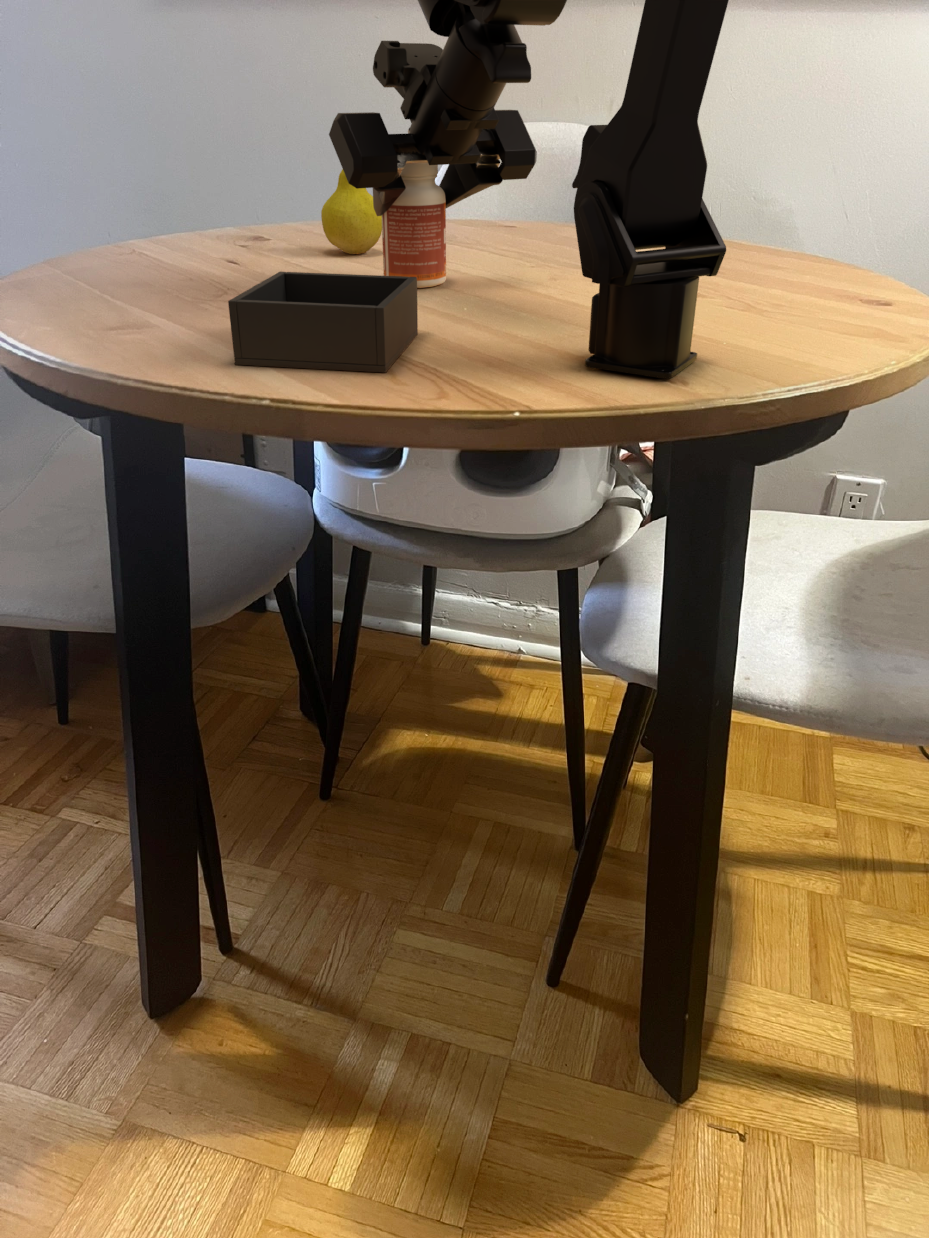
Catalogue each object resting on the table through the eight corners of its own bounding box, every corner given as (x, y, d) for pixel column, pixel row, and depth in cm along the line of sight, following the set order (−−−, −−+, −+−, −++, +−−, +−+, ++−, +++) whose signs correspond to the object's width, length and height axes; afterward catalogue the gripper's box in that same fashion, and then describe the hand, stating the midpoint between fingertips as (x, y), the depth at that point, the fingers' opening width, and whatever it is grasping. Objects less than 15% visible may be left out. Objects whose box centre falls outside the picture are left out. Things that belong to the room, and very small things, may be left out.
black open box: (417, 335, 80) (417, 277, 77) (385, 373, 70) (383, 307, 68) (284, 328, 81) (279, 271, 79) (234, 364, 72) (227, 300, 69)
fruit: (315, 250, 114) (308, 134, 108) (370, 246, 117) (366, 133, 111) (336, 260, 109) (329, 139, 103) (393, 255, 111) (390, 137, 105)
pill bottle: (458, 285, 97) (458, 161, 92) (404, 291, 94) (401, 164, 89) (425, 275, 102) (423, 156, 96) (372, 281, 99) (368, 158, 93)
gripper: (524, 8, 88) (460, 138, 101) (331, 1, 79) (289, 144, 93) (572, 111, 86) (499, 230, 99) (379, 115, 77) (329, 244, 91)
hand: (407, 210), depth 96 cm, fingers closed on pill bottle, 6 cm apart
